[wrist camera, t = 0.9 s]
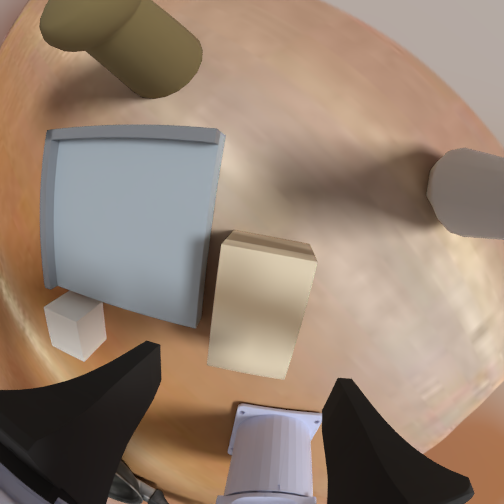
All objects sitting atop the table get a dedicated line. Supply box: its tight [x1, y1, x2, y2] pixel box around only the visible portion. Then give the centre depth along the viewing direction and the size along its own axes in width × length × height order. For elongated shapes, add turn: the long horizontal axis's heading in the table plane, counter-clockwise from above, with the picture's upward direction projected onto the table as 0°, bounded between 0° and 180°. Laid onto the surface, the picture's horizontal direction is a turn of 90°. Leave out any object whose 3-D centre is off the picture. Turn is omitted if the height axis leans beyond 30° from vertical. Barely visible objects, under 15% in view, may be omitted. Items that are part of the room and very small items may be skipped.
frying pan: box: [108, 461, 169, 504], centre depth 27 cm, size 44×25×7 cm, turn 67°
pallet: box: [207, 230, 318, 380], centre depth 17 cm, size 8×5×4 cm, turn 171°
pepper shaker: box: [39, 0, 203, 99], centre depth 10 cm, size 6×6×11 cm
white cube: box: [44, 291, 107, 362], centre depth 19 cm, size 4×4×4 cm
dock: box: [40, 125, 226, 328], centre depth 17 cm, size 13×14×2 cm
